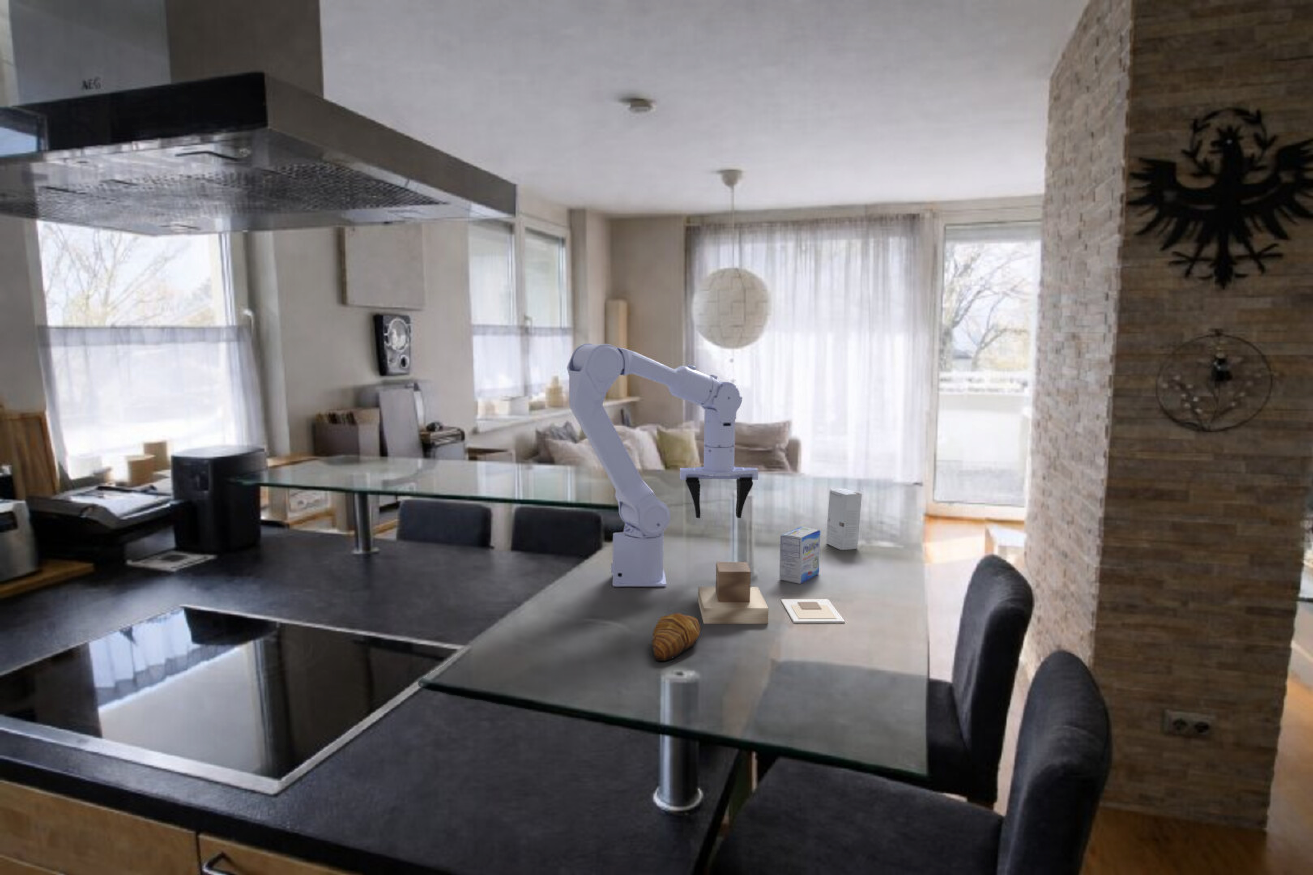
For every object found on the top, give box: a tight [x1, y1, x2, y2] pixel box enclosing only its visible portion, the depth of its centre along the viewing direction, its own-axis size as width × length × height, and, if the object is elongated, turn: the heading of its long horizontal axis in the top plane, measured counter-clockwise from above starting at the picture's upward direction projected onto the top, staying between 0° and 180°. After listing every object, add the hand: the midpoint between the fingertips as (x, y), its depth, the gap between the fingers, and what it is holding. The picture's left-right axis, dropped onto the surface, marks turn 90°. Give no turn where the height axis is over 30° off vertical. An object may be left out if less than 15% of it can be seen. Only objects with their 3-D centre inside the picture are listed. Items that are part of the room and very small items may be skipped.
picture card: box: [780, 598, 846, 624], centre depth 122 cm, size 8×10×1 cm
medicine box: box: [779, 526, 821, 585], centre depth 139 cm, size 8×4×9 cm, turn 143°
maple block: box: [697, 586, 769, 625], centre depth 122 cm, size 10×10×3 cm
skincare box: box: [825, 487, 863, 551], centre depth 161 cm, size 6×4×12 cm
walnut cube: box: [715, 561, 752, 602], centre depth 121 cm, size 5×5×5 cm
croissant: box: [651, 612, 701, 662], centre depth 108 cm, size 14×7×5 cm, turn 157°
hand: (718, 516), depth 142 cm, fingers open, 7 cm apart
